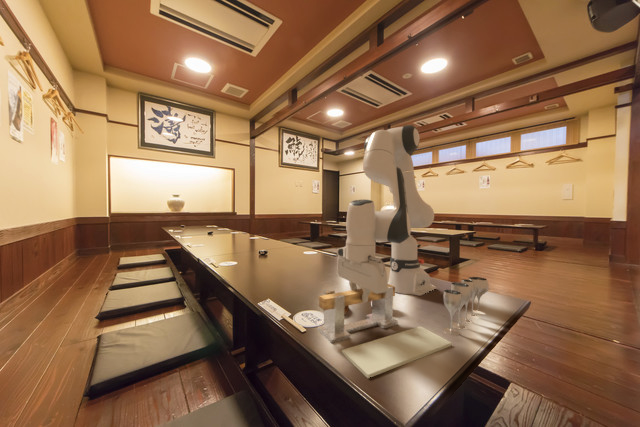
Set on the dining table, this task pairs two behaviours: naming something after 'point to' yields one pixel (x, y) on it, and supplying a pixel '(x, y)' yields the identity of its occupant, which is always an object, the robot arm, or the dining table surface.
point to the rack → (339, 331)
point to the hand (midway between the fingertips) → (359, 298)
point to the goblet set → (463, 298)
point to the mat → (394, 350)
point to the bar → (349, 297)
